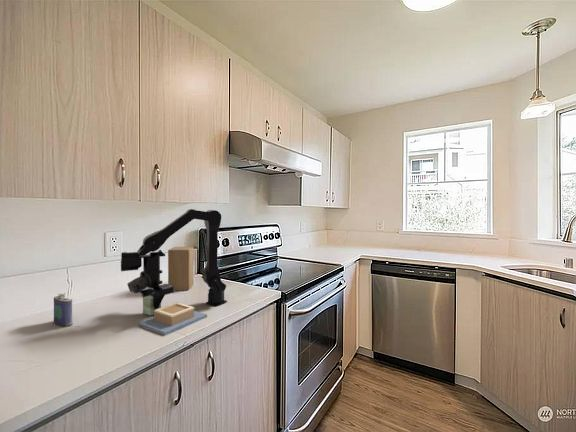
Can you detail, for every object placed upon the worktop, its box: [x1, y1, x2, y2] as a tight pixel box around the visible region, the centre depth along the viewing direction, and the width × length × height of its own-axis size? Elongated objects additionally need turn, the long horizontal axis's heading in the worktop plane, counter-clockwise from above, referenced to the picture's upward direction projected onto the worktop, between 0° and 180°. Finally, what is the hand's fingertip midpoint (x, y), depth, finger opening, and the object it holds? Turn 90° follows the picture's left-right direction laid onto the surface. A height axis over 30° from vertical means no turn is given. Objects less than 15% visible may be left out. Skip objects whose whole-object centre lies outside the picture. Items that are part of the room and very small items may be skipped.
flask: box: [53, 293, 74, 328], centre depth 100 cm, size 9×3×11 cm, turn 63°
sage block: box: [142, 296, 162, 316], centre depth 110 cm, size 4×4×6 cm
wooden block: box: [167, 246, 195, 291], centre depth 144 cm, size 10×10×20 cm
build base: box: [138, 302, 208, 336], centre depth 103 cm, size 18×14×5 cm
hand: (152, 308), depth 110 cm, fingers closed on sage block, 4 cm apart
